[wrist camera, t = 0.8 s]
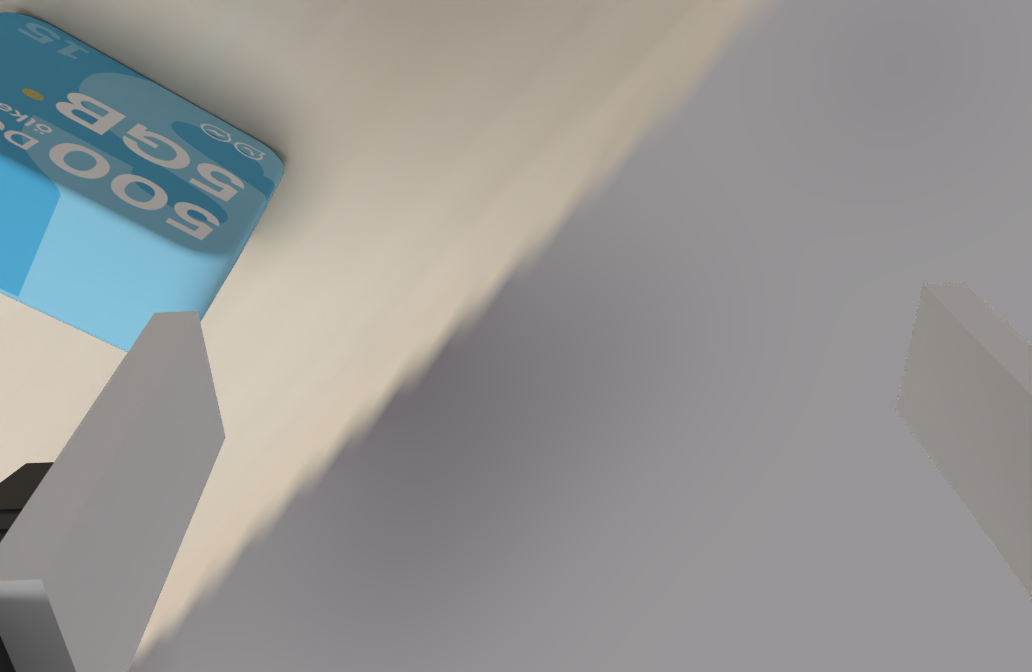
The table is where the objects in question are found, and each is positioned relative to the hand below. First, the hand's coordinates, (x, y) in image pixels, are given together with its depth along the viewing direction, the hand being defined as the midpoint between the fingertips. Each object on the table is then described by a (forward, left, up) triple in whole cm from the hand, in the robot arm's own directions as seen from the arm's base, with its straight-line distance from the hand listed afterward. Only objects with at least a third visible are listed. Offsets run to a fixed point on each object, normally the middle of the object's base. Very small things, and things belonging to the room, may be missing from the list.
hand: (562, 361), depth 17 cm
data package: (+2, -16, -24) cm, 29 cm away
